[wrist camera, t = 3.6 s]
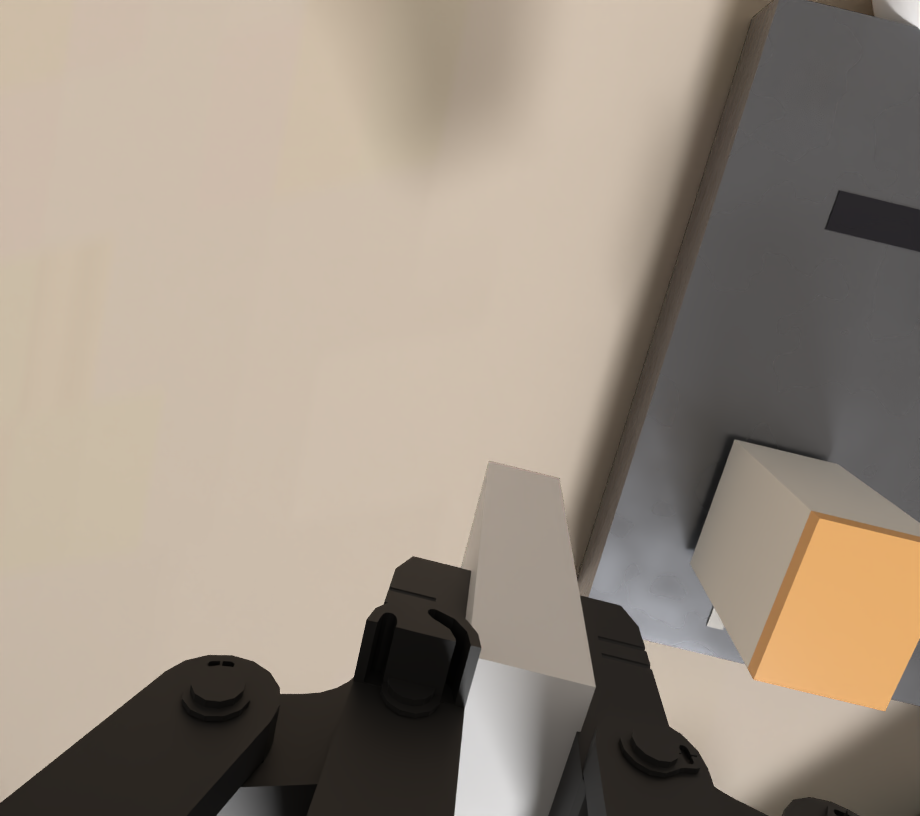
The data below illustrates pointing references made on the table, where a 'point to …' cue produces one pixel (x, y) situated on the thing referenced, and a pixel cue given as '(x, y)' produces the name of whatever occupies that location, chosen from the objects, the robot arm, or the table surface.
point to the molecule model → (898, 11)
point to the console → (779, 310)
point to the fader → (811, 575)
